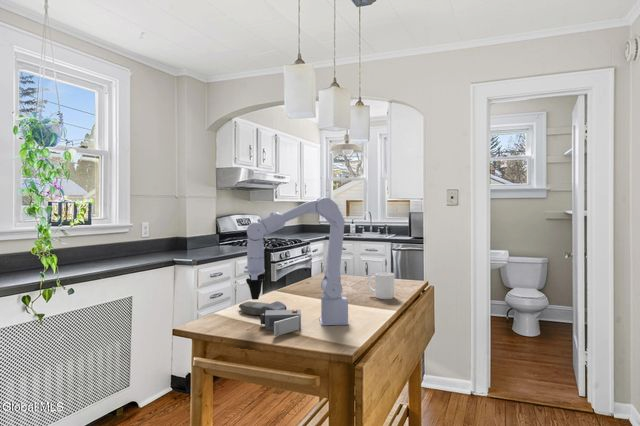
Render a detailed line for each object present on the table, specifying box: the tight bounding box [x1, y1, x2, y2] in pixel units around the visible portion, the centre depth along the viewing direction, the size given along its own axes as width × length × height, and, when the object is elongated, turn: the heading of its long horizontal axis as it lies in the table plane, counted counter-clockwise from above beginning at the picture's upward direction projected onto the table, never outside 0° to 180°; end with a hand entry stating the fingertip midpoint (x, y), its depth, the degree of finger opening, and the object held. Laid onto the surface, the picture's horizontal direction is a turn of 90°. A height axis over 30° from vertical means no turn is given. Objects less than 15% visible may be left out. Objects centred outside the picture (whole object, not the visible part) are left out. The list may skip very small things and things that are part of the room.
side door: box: [273, 314, 302, 337], centre depth 141 cm, size 11×1×5 cm, turn 134°
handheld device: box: [238, 301, 287, 316], centre depth 165 cm, size 10×20×5 cm, turn 61°
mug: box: [366, 271, 395, 300], centre depth 190 cm, size 12×8×10 cm
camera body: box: [260, 309, 302, 331], centre depth 148 cm, size 14×6×6 cm, turn 94°
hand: (256, 296), depth 149 cm, fingers open, 7 cm apart
